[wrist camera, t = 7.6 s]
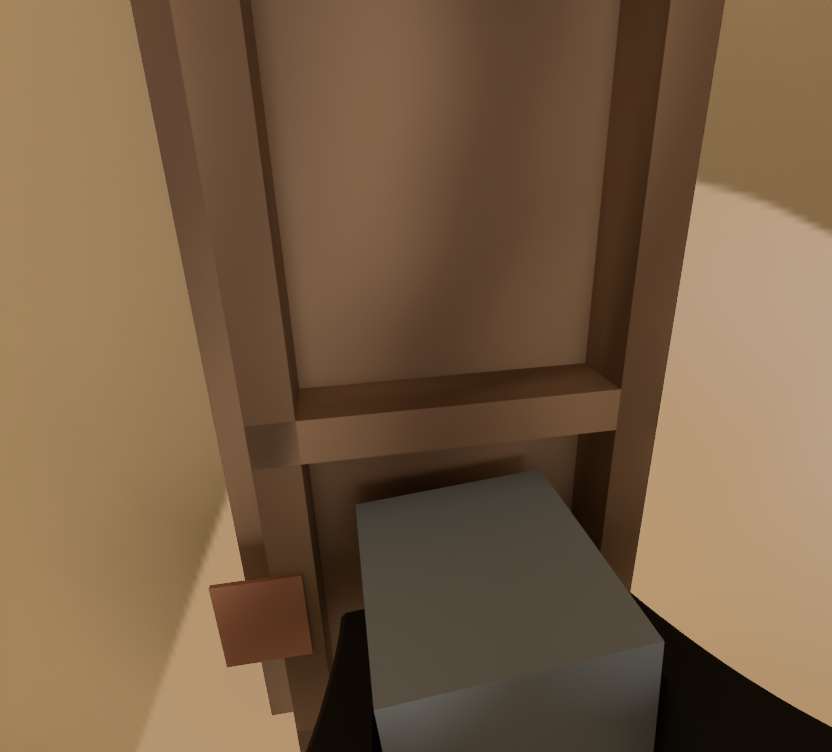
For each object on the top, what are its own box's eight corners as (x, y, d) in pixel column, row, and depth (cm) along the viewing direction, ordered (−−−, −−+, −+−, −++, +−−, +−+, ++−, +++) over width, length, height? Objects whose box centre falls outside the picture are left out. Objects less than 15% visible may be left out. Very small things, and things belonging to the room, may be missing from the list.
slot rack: (704, -105, 10) (818, -188, 8) (601, 635, 18) (644, 707, 15) (99, -131, 9) (14, -245, 6) (264, 692, 16) (254, 782, 14)
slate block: (539, 468, 12) (664, 641, 8) (543, 607, 14) (647, 814, 10) (355, 504, 12) (373, 710, 7) (382, 643, 14) (410, 880, 9)
